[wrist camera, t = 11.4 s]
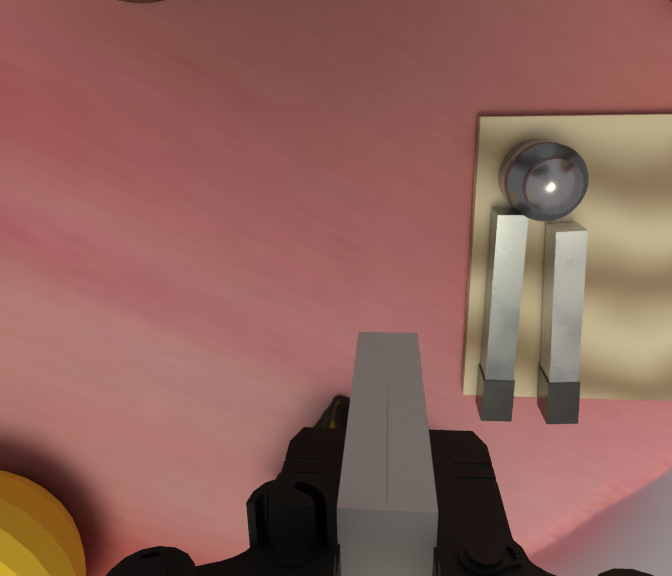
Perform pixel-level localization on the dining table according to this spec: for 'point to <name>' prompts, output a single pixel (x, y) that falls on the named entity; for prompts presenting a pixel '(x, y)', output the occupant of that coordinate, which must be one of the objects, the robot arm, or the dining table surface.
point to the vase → (36, 532)
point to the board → (589, 252)
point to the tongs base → (510, 274)
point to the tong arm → (559, 287)
